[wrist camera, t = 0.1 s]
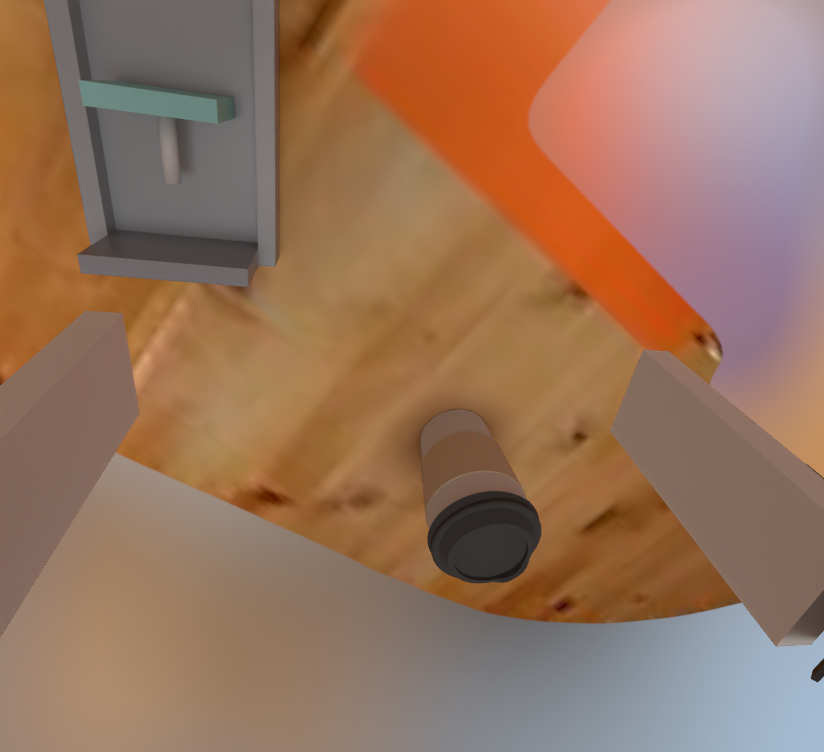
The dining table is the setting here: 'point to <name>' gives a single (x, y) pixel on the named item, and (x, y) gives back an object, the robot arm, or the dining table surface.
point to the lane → (197, 141)
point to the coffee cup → (474, 502)
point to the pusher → (159, 111)
